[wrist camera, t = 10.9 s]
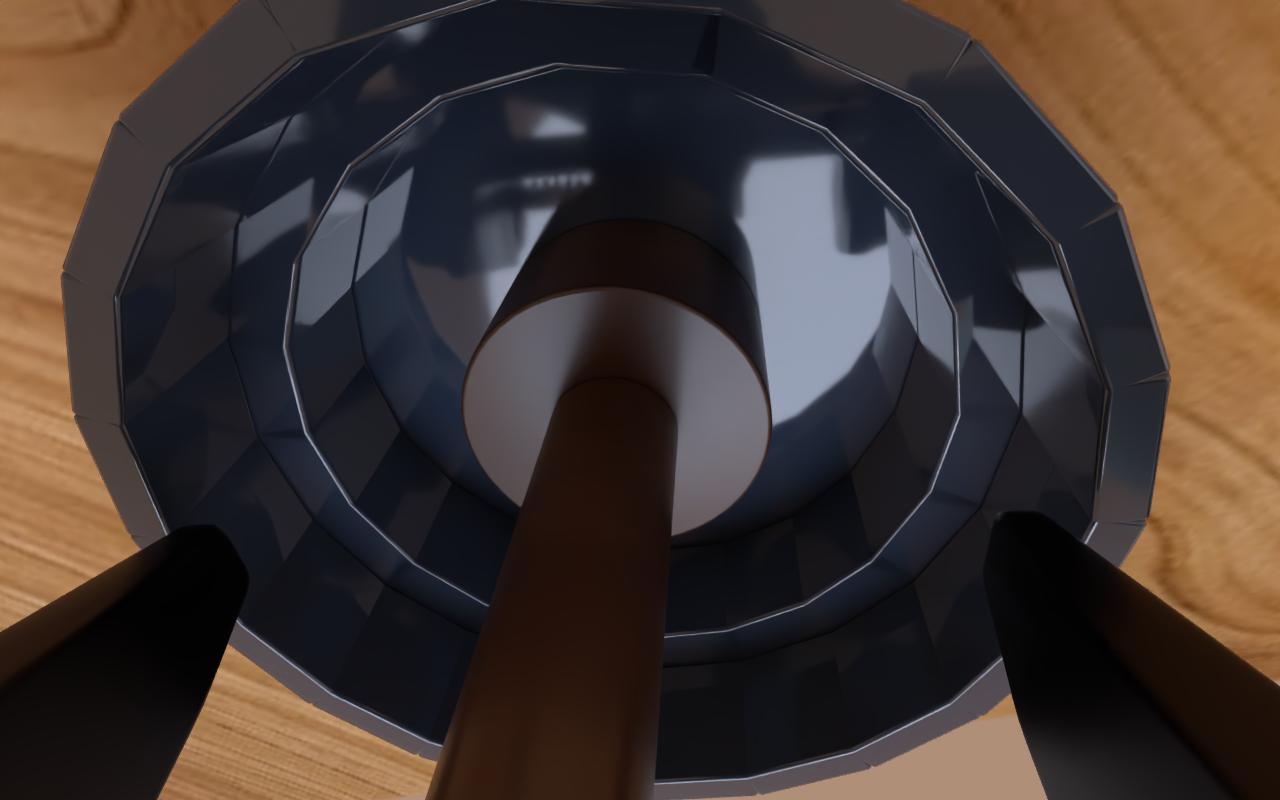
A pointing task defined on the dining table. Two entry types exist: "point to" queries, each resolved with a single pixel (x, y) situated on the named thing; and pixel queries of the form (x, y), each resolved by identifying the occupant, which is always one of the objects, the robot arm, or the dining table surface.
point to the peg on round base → (598, 499)
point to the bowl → (486, 268)
